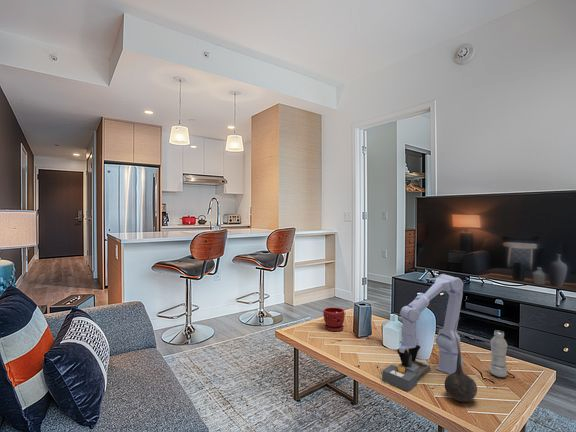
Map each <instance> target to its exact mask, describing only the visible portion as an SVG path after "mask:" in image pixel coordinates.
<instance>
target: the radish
mask: <svg viewBox="0 0 576 432" xmlns="http://www.w3.org/2000/svg"><path fill="white" fill-rule="evenodd" d="M457 322H458V323H459V320H458V321H457ZM457 322H456V324H457ZM455 327H456V325H455ZM454 334H455V328H454ZM455 337H456V334H455ZM456 341H457V348H458V356H457V369H456V371H455V372H454V373H452V374H448V375H447V376H446V378H445V380H444V389H445V392H446V394H448V396H449V397H451V398H452V399H453V400H456V401H458V402H464V403H465V402H469V401H472V400H473V399H475V397H476V396H477V393H478V386H477V383H476V381H475V380H474V379H473V378H472V377H470V376H469V375H468V374H466V373H465V372H464V370H463V364H462V365H461V355H462V354H461V353H462V351H461V348H460V346H459V343H458V340H457V337H456Z"/></svg>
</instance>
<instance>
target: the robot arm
mask: <svg viewBox="0 0 576 432" xmlns="http://www.w3.org/2000/svg"><path fill="white" fill-rule="evenodd" d="M463 289H464V282H463V281H462V279H461V278H460V277H457V276H456V277H455V276H452V275H449V274H445V273H440V274H439V275H438V276H437V277H436V278H435V282H434V283H433V284H432V285H431V286H430V287H429V288H428V289H427V291H426V292H424V293H423V294H422V295H421V294H420V295H417V296H416V297H415V298H414V299H413V301H411V302H410V303H409V304H408V305H404V306H403V307H402V308H401V309H400V311H399V315H400V317H401V321H402V331H401V332H402V334H401V335H402V336H401V337H402V338H401V339H402V340H400V341H399V343H400V346H399V348H397V350H396V351H397V354H398V356H399V359H400V364H401V363H402V366H404V367H406V368H407V366H408V360H409V357H410V355H412V361H413V362H415V360H416V361H417V356H418V352H419V351H420V349H421V346H420V345H419V339H418V338H417V321H418V320H419V319H420V316H421V314H422V312H423V311H424V310H426V308H427V307H428V306H429V305H430V301H431V300H432V299H434V298H435V297H437V296H438V295H439V294H440V293H441V292H446V293H447V295H448V301H447V306H446V312H445V319H444V322H443V323H444V324H443V328H441V329H439V330H438V334H437V335H436V338H435V343H436V345H437V346H438V349H439V351H438V352H439V353H438V355H439V357H438V365H437V366H436V367H435V370H438V371H441V372H443V373H447V374H448V375H450V374H452V373H454V372H455V371H456V369H457V356H458V348H457V341H456V337H457V340H458V343H459V346H460V349H461V347H462V345H461V337H460V335H459V333H458V331H457V329H458V325H459V320H460V312H461V307H462V300H463V295H464V293H463V291H464V290H463ZM457 321H458V322H457ZM456 322H457V324H456ZM455 325H456V327H455ZM454 328H455V334H456V337H455V334H454ZM407 350H408V351H407ZM461 365H462V366H463V354H461Z"/></svg>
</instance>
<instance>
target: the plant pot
mask: <svg viewBox="0 0 576 432" xmlns="http://www.w3.org/2000/svg"><path fill="white" fill-rule="evenodd" d="M322 312H323V320H324V323H325V325H324V327H325V328H324V329H326V330H327V331H329V332H340V331H342V330H343V329H344V325H343V324H344V322H345V313H346V311H345V310H344V308H341V307H327V308H324V309H323V311H322Z"/></svg>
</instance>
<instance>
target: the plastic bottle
mask: <svg viewBox="0 0 576 432" xmlns="http://www.w3.org/2000/svg"><path fill="white" fill-rule="evenodd" d="M493 332H494V333H493V337H491V339H490V343H489V344H490V349H491V350H490V351H491V359H490V365H489V372H490V373H491V375H493V376H494V377H497V378H506V377H507V375H508V367H507V359H506V358H507V351H508V343H507V340H506V339H505V338H504V337H505V332H504V331H502V330H498V329H497V330H496V329H495V330H494V331H493Z"/></svg>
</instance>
